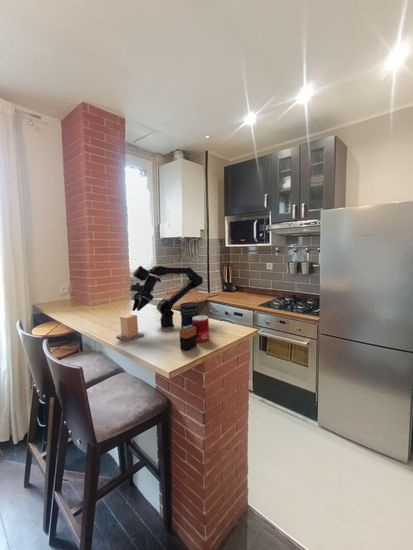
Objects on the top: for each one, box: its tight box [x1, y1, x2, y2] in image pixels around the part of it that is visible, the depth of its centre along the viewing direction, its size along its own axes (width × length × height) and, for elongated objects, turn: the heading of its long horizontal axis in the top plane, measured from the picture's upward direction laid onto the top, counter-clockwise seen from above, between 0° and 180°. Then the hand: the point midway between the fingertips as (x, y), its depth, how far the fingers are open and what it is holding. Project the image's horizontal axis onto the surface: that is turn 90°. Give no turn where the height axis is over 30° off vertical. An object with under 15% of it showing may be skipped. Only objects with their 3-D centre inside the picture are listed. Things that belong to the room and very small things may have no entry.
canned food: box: [192, 314, 210, 343], centre depth 124 cm, size 8×8×11 cm
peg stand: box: [115, 331, 145, 342], centre depth 134 cm, size 10×10×4 cm
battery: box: [178, 325, 198, 352], centre depth 115 cm, size 4×7×10 cm, turn 143°
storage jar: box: [179, 301, 200, 329], centre depth 137 cm, size 10×10×15 cm
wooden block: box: [119, 313, 139, 338], centre depth 133 cm, size 6×6×10 cm
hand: (135, 310), depth 138 cm, fingers open, 9 cm apart
